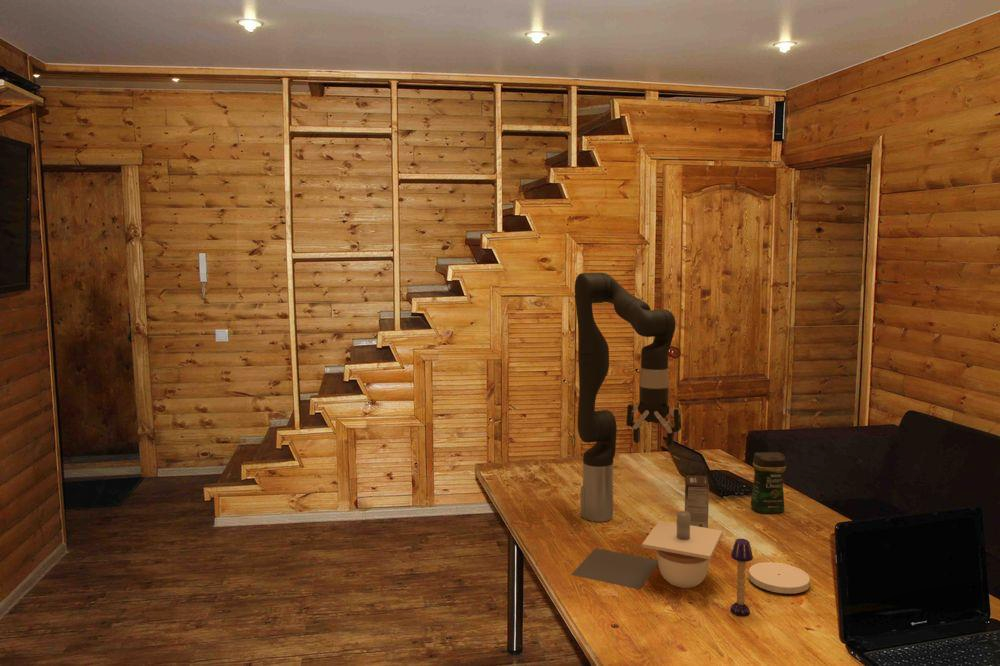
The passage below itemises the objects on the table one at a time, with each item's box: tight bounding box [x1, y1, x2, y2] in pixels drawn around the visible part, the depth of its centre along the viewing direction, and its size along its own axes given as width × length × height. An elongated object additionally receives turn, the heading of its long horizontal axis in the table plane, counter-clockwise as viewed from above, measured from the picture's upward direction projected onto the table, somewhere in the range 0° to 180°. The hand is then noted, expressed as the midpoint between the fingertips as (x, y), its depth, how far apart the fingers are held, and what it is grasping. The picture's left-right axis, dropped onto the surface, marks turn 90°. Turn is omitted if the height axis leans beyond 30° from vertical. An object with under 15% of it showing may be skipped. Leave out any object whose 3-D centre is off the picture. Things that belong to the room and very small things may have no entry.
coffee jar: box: [750, 451, 787, 514], centre depth 224 cm, size 10×8×19 cm
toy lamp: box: [730, 538, 754, 617], centre depth 162 cm, size 5×5×17 cm
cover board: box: [641, 510, 724, 560], centre depth 175 cm, size 16×16×7 cm
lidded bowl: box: [656, 550, 710, 589], centre depth 176 cm, size 13×13×11 cm
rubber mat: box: [570, 547, 659, 590], centre depth 184 cm, size 18×18×1 cm
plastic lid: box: [748, 561, 811, 595], centre depth 176 cm, size 14×14×2 cm
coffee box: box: [684, 474, 710, 528], centre depth 206 cm, size 9×6×16 cm
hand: (653, 444), depth 192 cm, fingers open, 8 cm apart
